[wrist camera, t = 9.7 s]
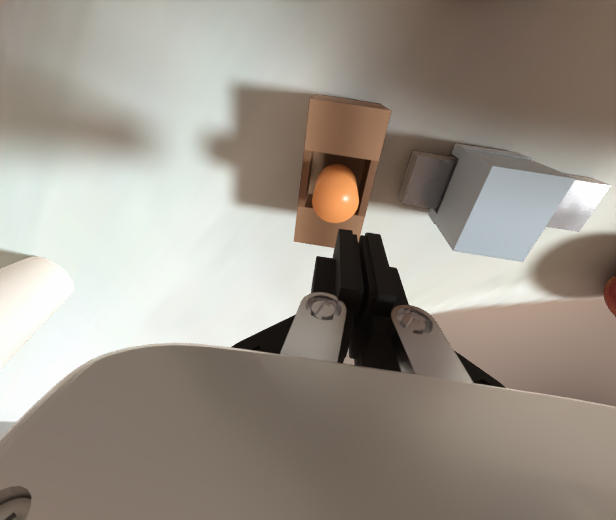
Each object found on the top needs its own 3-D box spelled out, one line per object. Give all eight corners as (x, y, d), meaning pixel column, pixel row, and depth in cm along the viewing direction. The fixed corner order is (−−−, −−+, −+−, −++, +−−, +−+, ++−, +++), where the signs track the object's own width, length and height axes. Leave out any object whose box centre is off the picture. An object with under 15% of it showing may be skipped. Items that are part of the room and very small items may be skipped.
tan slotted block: (380, 103, 22) (391, 110, 17) (353, 220, 28) (356, 251, 23) (316, 94, 23) (309, 98, 18) (302, 212, 28) (293, 241, 23)
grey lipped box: (517, 152, 23) (576, 177, 17) (482, 223, 26) (522, 263, 21) (455, 143, 23) (493, 164, 17) (428, 214, 26) (452, 252, 21)
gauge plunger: (360, 167, 20) (363, 182, 17) (351, 205, 21) (353, 226, 18) (319, 160, 20) (315, 175, 17) (313, 199, 21) (309, 219, 18)
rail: (592, 178, 24) (611, 185, 22) (563, 221, 26) (578, 231, 24) (412, 150, 24) (417, 155, 22) (398, 196, 26) (402, 204, 24)
